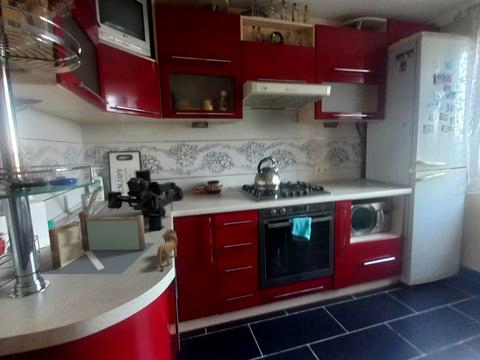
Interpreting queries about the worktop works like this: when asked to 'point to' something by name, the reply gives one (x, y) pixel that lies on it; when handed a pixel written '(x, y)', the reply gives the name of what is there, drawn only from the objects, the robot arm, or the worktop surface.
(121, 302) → the worktop surface
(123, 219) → the swinging fence panel
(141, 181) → the robot arm
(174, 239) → the lion figurine
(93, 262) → the card
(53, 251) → the fixed fence section
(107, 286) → the worktop surface
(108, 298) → the worktop surface
